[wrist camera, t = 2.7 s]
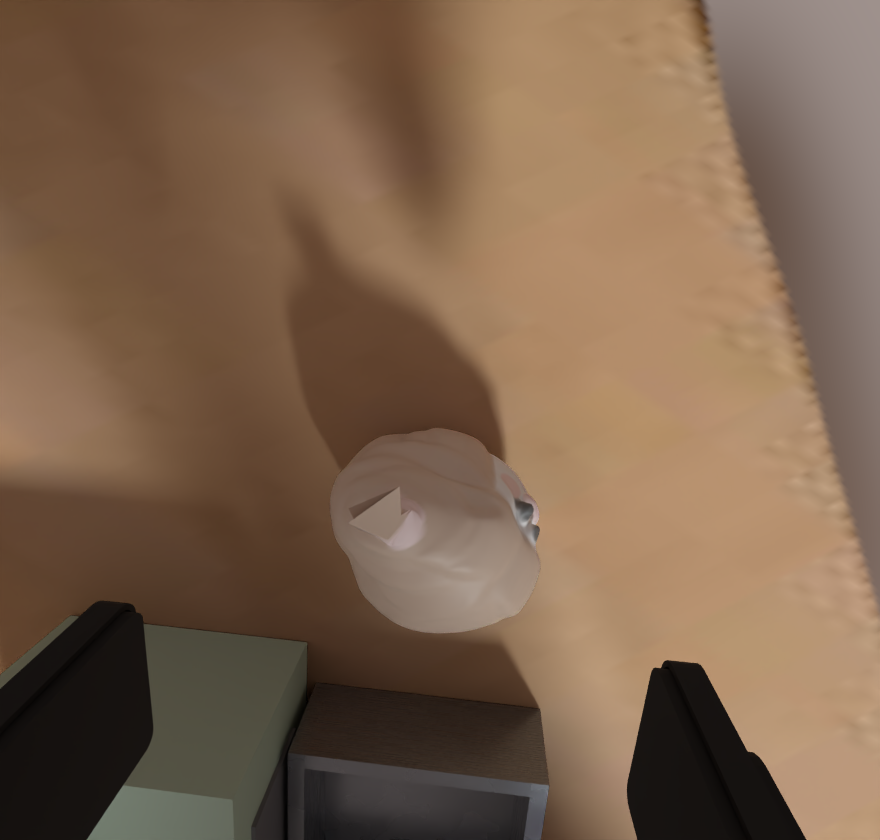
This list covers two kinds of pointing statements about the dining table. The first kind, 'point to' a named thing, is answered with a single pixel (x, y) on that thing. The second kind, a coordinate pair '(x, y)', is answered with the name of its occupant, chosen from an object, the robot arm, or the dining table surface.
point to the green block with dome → (209, 737)
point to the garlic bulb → (437, 531)
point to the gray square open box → (415, 768)
